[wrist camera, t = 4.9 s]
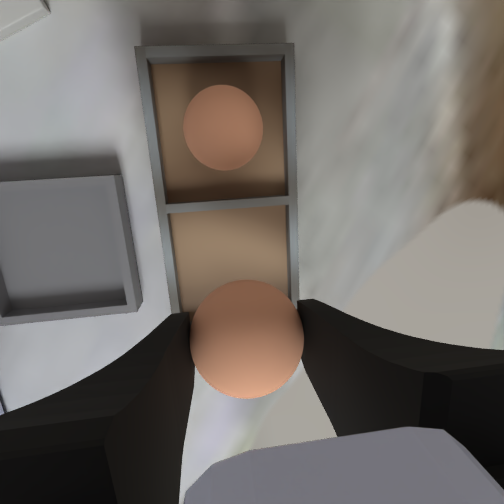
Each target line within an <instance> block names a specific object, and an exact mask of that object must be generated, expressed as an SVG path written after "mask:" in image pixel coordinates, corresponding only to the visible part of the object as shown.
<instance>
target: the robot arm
mask: <svg viewBox="0 0 504 504" xmlns="http://www.w3.org/2000/svg"><path fill="white" fill-rule="evenodd" d="M297 311H298V314H299V316H300V319H301V321H302V326H303V331H304V346H303V352H302V356H301V359H302V362H303V365H304V368H305V371H306V373H307V375H308V377H309V379H310V381H311V383H312V385H313V387H314V389H315V391H316V393H317V395H318V397H319V399H320V401H321V403H322V405H323V407H324V409H325V411H326V413H327V415H328V417H329V419H330V421H331V423H332V425H333V427H334V430H335V432H336V434H337V437H335V438H327V439H321V440H315V441H307V442H301V443H295V444H288V445H281V446H275V447H269V448H261V449H254V450H249V451H246V452H243V453H241V454H238V455H235V456H233V457H230V458H227V459H224V460H222V461H219V462H216V463H214V464H213V465H211V466H210V467H209V468H208V469H207V470H206V471H205V472H204V473H203V474H202V475H201V476H200V477H199V478H198V480H197V481H196V482H195V483H194V484H193V485H192V486H191V487H190V488H189V489H188V490H187V491H186V493H185V499H184V504H504V350H494V349H481V348H473V347H465V346H458V345H451V344H446V343H440V342H434V341H430V340H425V339H421V338H416V337H412V336H408V335H404V334H401V333H397V332H394V331H390V330H387V329H384V328H381V327H378V326H375V325H373V324H370V323H368V322H365V321H363V320H360V319H358V318H355V317H353V316H351V315H348V314H346V313H344V312H342V311H340V310H338V309H335V308H333V307H331V306H329V305H327V304H325V303H322V302H320V301H318V300H315V299H306V300H297ZM190 327H191V324H190V316H189V312H182V313H173V314H171V315H170V316H168V317H167V318H166V319H165V320H164V321H163V322H162V323H161V324H160V325H159V326H157V327H156V328H155V329H154V330H153V331H152V332H151V333H150V334H149V335H147V336H146V337H145V338H144V339H143V340H141V341H140V342H139V343H138V344H136V345H135V346H134V347H133V348H131V349H130V350H129V351H128V352H126V353H125V354H123V355H122V356H121V357H119V358H118V359H116V360H115V361H113V362H112V363H110V364H109V365H107V366H105V367H104V368H102V369H101V370H99V371H97V372H95V373H93V374H92V375H90V376H88V377H86V378H84V379H82V380H81V381H79V382H77V383H75V384H73V385H71V386H69V387H67V388H65V389H63V390H61V391H59V392H56V393H54V394H52V395H50V396H48V397H45V398H43V399H41V400H38V401H36V402H34V403H31V404H29V405H26V406H24V407H21V408H18V409H16V410H13V411H10V412H7V413H4V411H3V408H2V405H1V402H0V504H179V492H180V479H181V465H182V455H183V447H184V440H185V435H186V429H187V423H188V417H189V412H190V406H191V400H192V394H193V388H194V375H195V364H194V361H193V359H192V355H191V351H190V342H189V337H190Z"/></svg>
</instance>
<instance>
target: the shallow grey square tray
mask: <svg viewBox="0 0 504 504" xmlns="http://www.w3.org/2000/svg"><path fill="white" fill-rule="evenodd" d="M142 302H143V299H142V293H141V287H140V281H139V275H138V269H137V263H136V257H135V251H134V245H133V239H132V233H131V227H130V221H129V215H128V209H127V203H126V197H125V191H124V184H123V178H122V175H107V176H91V177H74V178H58V179H41V180H24V181H8V182H0V326H4V325H14V324H24V323H33V322H43V321H53V320H63V319H72V318H82V317H92V316H101V315H111V314H121V313H130V312H137V311H138V309H139V308H140V306H141V304H142Z"/></svg>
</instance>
